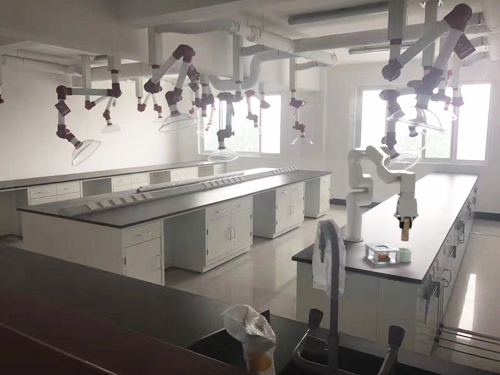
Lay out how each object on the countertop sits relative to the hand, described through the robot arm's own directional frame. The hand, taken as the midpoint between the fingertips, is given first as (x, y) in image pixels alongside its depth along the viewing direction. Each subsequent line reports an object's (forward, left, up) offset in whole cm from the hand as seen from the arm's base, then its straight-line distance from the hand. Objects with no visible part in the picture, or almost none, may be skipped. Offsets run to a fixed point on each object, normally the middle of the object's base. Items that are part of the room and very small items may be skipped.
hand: (405, 228), depth 215 cm
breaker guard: (-2, -12, -18) cm, 22 cm away
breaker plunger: (-2, -12, -18) cm, 21 cm away
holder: (0, 0, -18) cm, 18 cm away
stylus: (0, 0, -7) cm, 7 cm away
